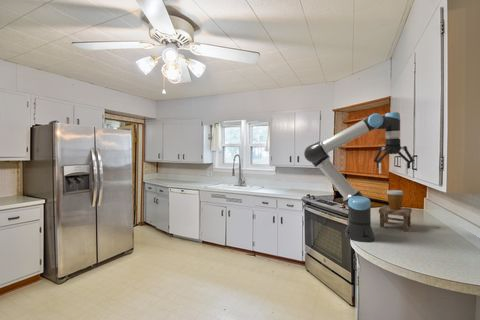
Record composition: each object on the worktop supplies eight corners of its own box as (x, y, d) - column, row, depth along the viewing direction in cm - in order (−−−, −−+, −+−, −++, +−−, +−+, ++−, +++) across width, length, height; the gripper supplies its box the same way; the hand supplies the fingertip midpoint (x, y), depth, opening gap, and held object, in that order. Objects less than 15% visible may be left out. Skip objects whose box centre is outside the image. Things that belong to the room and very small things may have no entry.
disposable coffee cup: (398, 207, 162) (398, 189, 162) (407, 210, 153) (406, 191, 153) (383, 207, 163) (383, 189, 163) (391, 210, 153) (391, 192, 153)
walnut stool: (378, 227, 157) (378, 209, 157) (384, 222, 169) (384, 205, 169) (408, 232, 147) (408, 212, 146) (411, 226, 158) (411, 208, 158)
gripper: (419, 137, 136) (419, 174, 136) (371, 140, 153) (371, 172, 153) (418, 136, 130) (418, 175, 131) (368, 139, 147) (368, 173, 148)
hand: (393, 173), depth 142 cm, fingers open, 13 cm apart
